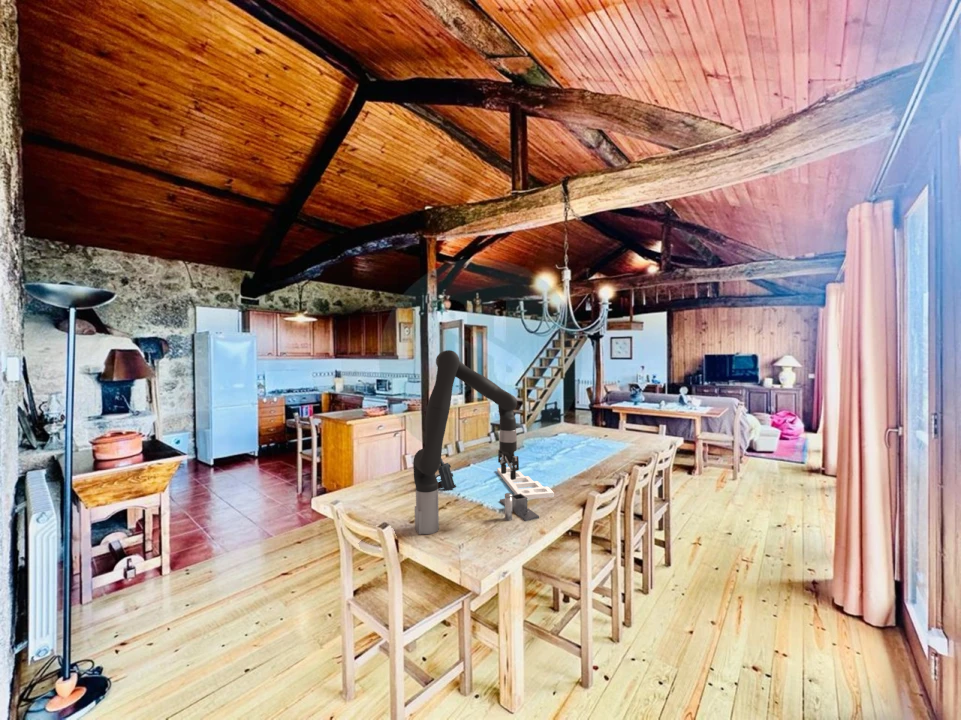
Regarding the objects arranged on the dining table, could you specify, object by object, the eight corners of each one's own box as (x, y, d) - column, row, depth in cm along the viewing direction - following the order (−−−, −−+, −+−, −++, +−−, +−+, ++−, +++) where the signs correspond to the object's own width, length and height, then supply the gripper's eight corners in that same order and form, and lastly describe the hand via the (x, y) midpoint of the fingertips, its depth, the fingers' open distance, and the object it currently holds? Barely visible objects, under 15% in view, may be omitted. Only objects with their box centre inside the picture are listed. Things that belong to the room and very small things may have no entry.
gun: (419, 464, 212) (447, 455, 215) (428, 494, 214) (456, 485, 216) (420, 466, 210) (448, 457, 212) (429, 496, 211) (456, 487, 214)
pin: (507, 521, 176) (507, 496, 176) (503, 518, 179) (503, 493, 178) (513, 519, 177) (513, 495, 177) (510, 517, 180) (509, 492, 180)
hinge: (525, 521, 176) (525, 507, 176) (499, 501, 198) (499, 489, 197) (539, 518, 179) (539, 504, 179) (512, 499, 201) (512, 487, 200)
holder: (497, 472, 243) (497, 468, 243) (525, 470, 247) (525, 465, 247) (519, 501, 199) (519, 495, 199) (554, 497, 203) (554, 492, 203)
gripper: (492, 437, 181) (493, 472, 182) (508, 444, 169) (508, 482, 169) (507, 435, 185) (507, 470, 185) (523, 442, 172) (524, 480, 172)
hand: (508, 476), depth 177 cm, fingers open, 8 cm apart
